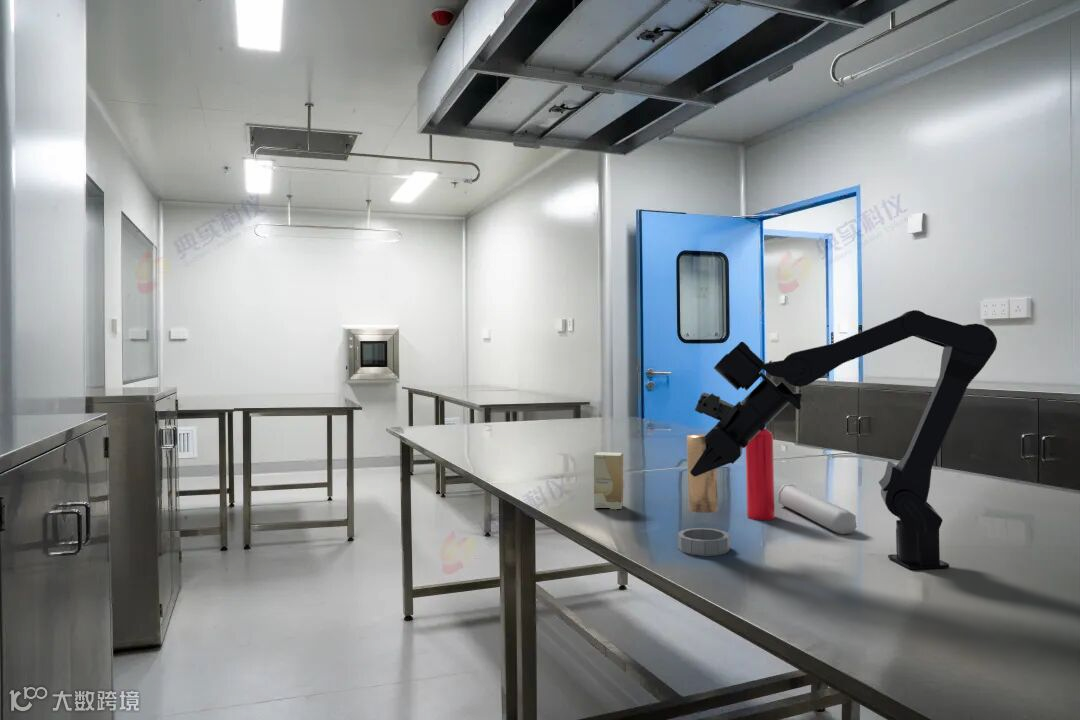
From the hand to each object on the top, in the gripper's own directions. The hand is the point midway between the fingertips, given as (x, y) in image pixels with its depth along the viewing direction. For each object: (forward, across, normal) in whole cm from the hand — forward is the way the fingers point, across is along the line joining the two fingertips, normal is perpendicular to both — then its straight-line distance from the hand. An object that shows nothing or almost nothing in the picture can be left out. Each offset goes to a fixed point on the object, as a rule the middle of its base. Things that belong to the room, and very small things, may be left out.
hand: (694, 471), depth 124 cm
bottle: (+3, -26, +16) cm, 31 cm away
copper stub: (+4, 0, +6) cm, 7 cm away
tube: (-4, -26, +24) cm, 36 cm away
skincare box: (+26, -27, -7) cm, 38 cm away
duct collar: (+9, 0, +10) cm, 13 cm away
